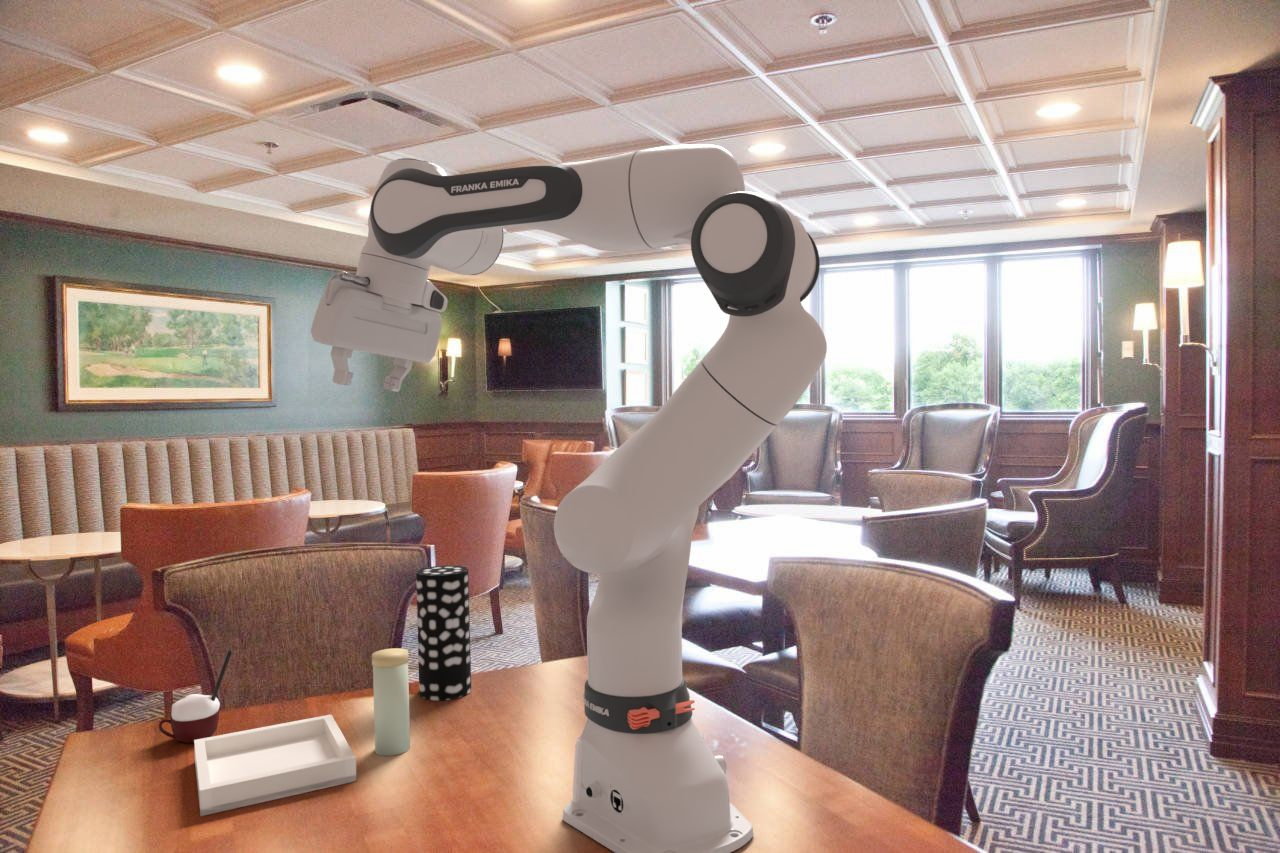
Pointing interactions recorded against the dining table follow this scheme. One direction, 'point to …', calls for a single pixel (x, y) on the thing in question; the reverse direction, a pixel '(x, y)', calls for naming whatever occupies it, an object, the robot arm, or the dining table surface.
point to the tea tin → (391, 701)
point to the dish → (271, 763)
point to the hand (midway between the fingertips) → (367, 387)
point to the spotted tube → (443, 632)
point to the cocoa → (196, 714)
